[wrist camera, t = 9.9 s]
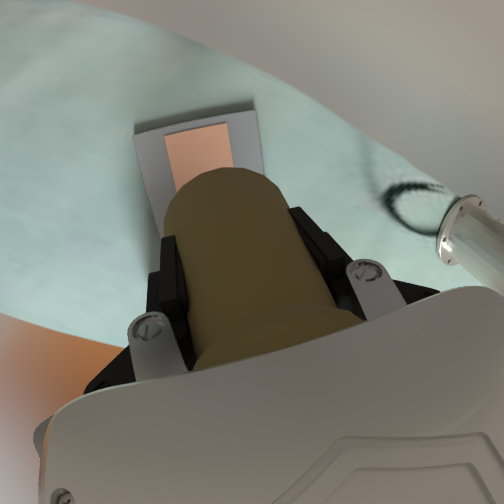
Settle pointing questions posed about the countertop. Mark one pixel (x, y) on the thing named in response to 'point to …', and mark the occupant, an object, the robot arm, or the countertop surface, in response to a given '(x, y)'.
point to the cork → (246, 269)
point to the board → (194, 154)
